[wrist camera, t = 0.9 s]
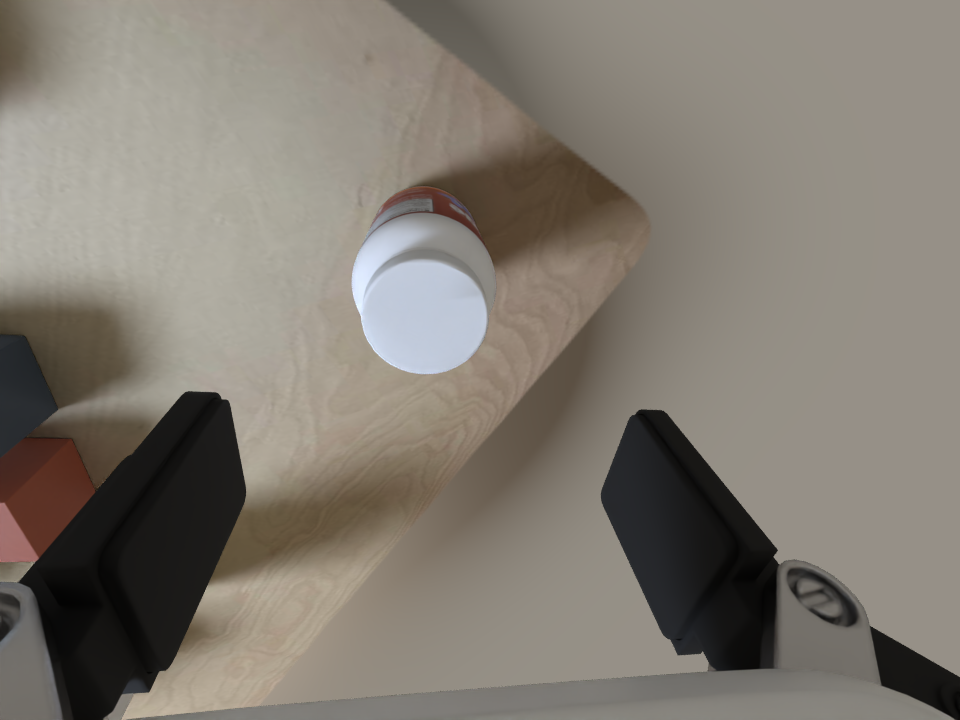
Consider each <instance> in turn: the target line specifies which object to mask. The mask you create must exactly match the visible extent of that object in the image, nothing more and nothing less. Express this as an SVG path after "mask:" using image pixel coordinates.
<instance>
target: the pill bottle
mask: <svg viewBox="0 0 960 720" xmlns="http://www.w3.org/2000/svg"><path fill="white" fill-rule="evenodd" d="M352 290H353V296H354V300H355V303H356V306H357V309H358V311H359V313H360V315H361V320H362V326H363V330H364V333H365V336H366V338H367V340H368V342H369V343H370V345H371V347H372V348H373V349H374V351H375V352H376V353H377V354H378V355H379V356H380V357H381V358H382V359H384V360H385V361H386V362H388V363H389V364H391V365H393V366H394V367H396V368H399V369H401V370H404V371H407V372H412V373H417V374H435V373H441V372H445V371H448V370H451V369H453V368H455V367H457V366H459V365H461V364H462V363H464V362H465V361H467V360H468V359H469V358H470V357H471V356H473V354H474V353H475V352H476V351H477V350H478V348H479V347H480V345H481V344H482V342H483V340H484V338H485V335H486V333H487V329H488V324H489V315H490V312H491V310H492V308H493V304H494V301H495V296H496V275H495V270H494V266H493V263H492V260H491V257H490V254H489V252H488V250H487V248H486V245H485V243H484V241H483V239H482V236H481V234H480V232H479V230H478V228H477V226H476V223H475V221H474V219H473V217H472V215H471V214H470V212H469V211H468V210H467V208H466V207H465V206H464V205H463V204H462V203H461V202H460V201H459V200H458V199H457V198H456V197H454V196H453V195H451V194H449V193H448V192H446V191H443V190H441V189H438V188H434V187H429V186H417V187H411V188H407V189H404V190H402V191H400V192H398V193H396V194H394V195H393V196H392V197H390V198H389V199H388V200H387V201H386V202H385V203H384V204H383V205H382V206H381V208H380V209H379V211H378V212H377V214H376V216H375V218H374V220H373V222H372V225H371V227H370V229H369V231H368V233H367V235H366V238H365V240H364V242H363V244H362V246H361V248H360V250H359V252H358V255H357V258H356V261H355V264H354V268H353V274H352Z"/></svg>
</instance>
